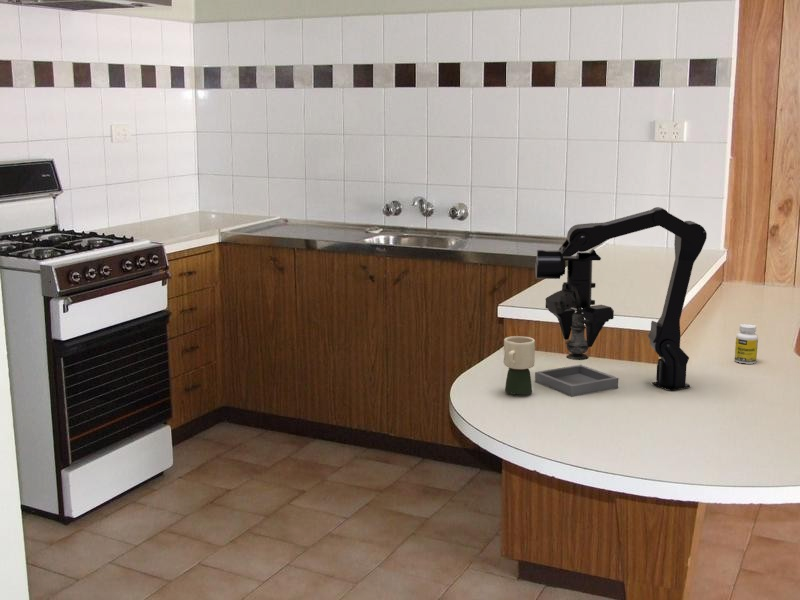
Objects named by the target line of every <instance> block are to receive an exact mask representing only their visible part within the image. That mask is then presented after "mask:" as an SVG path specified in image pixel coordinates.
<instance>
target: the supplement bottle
mask: <svg viewBox="0 0 800 600" xmlns="http://www.w3.org/2000/svg"><path fill="white" fill-rule="evenodd" d="M756 331H757V326H756V325H754V324H748V323H745V324H744V323H741V324H739V332H738V333H736V337H735V349H734V362H735V363H737V362H739V363H738V364H741V363H746V364H745V365H754V364H756V363H757V360H758V359H757V357H758V343H759V335H758V334H756ZM753 363H754V364H753Z"/></svg>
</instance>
